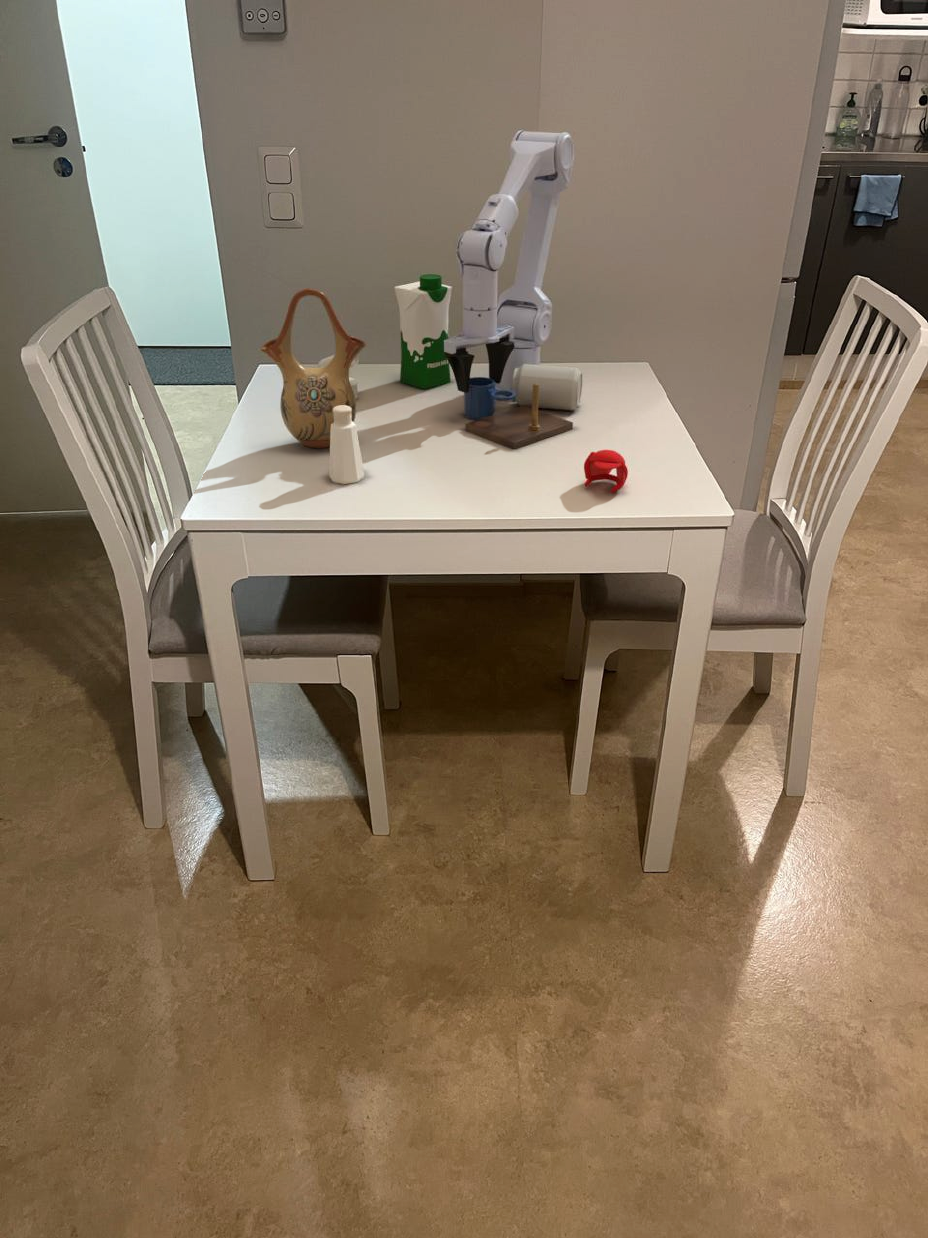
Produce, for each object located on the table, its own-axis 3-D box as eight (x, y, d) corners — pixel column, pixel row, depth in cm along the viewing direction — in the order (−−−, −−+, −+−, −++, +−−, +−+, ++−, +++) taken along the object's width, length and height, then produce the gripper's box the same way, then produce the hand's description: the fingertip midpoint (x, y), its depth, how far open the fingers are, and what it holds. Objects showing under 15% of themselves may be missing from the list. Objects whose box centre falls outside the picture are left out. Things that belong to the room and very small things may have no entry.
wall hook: (338, 355, 168) (297, 346, 173) (341, 408, 173) (301, 397, 178) (370, 344, 173) (329, 335, 178) (372, 395, 178) (333, 386, 183)
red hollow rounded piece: (579, 477, 145) (581, 440, 142) (617, 476, 146) (621, 439, 143) (588, 499, 139) (591, 460, 135) (629, 498, 139) (632, 459, 136)
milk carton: (424, 391, 180) (421, 282, 170) (392, 381, 186) (388, 274, 175) (457, 381, 186) (456, 274, 175) (426, 371, 191) (423, 267, 181)
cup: (458, 414, 170) (458, 381, 167) (480, 407, 173) (480, 374, 170) (500, 430, 163) (500, 396, 160) (522, 422, 166) (523, 389, 163)
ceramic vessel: (369, 431, 162) (360, 279, 149) (373, 451, 155) (364, 292, 142) (271, 437, 160) (254, 283, 147) (271, 457, 153) (252, 296, 140)
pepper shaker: (331, 470, 148) (326, 401, 142) (366, 470, 148) (362, 401, 142) (326, 484, 144) (320, 413, 138) (362, 484, 143) (358, 413, 138)
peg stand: (465, 429, 163) (465, 378, 158) (523, 411, 171) (524, 362, 166) (514, 449, 155) (515, 396, 151) (572, 428, 163) (575, 377, 159)
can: (584, 379, 174) (519, 374, 177) (581, 360, 167) (514, 355, 169) (578, 417, 173) (513, 412, 175) (575, 399, 165) (507, 394, 168)
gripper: (463, 318, 153) (463, 401, 160) (527, 304, 161) (525, 383, 168) (435, 310, 158) (436, 391, 165) (498, 297, 166) (497, 374, 173)
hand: (479, 386), depth 167 cm, fingers open, 7 cm apart
